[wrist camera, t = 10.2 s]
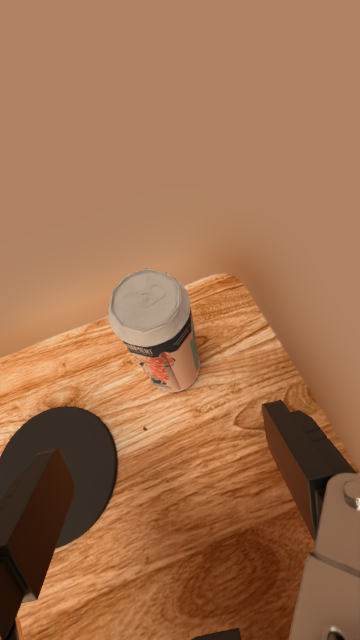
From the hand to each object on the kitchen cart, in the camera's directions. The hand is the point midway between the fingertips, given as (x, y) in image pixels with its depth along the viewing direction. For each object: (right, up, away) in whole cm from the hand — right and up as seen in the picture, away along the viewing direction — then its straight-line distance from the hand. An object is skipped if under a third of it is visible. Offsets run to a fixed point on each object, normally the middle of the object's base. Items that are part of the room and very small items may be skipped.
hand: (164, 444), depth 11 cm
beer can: (0, 0, +15) cm, 15 cm away
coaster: (-9, -7, +12) cm, 17 cm away
